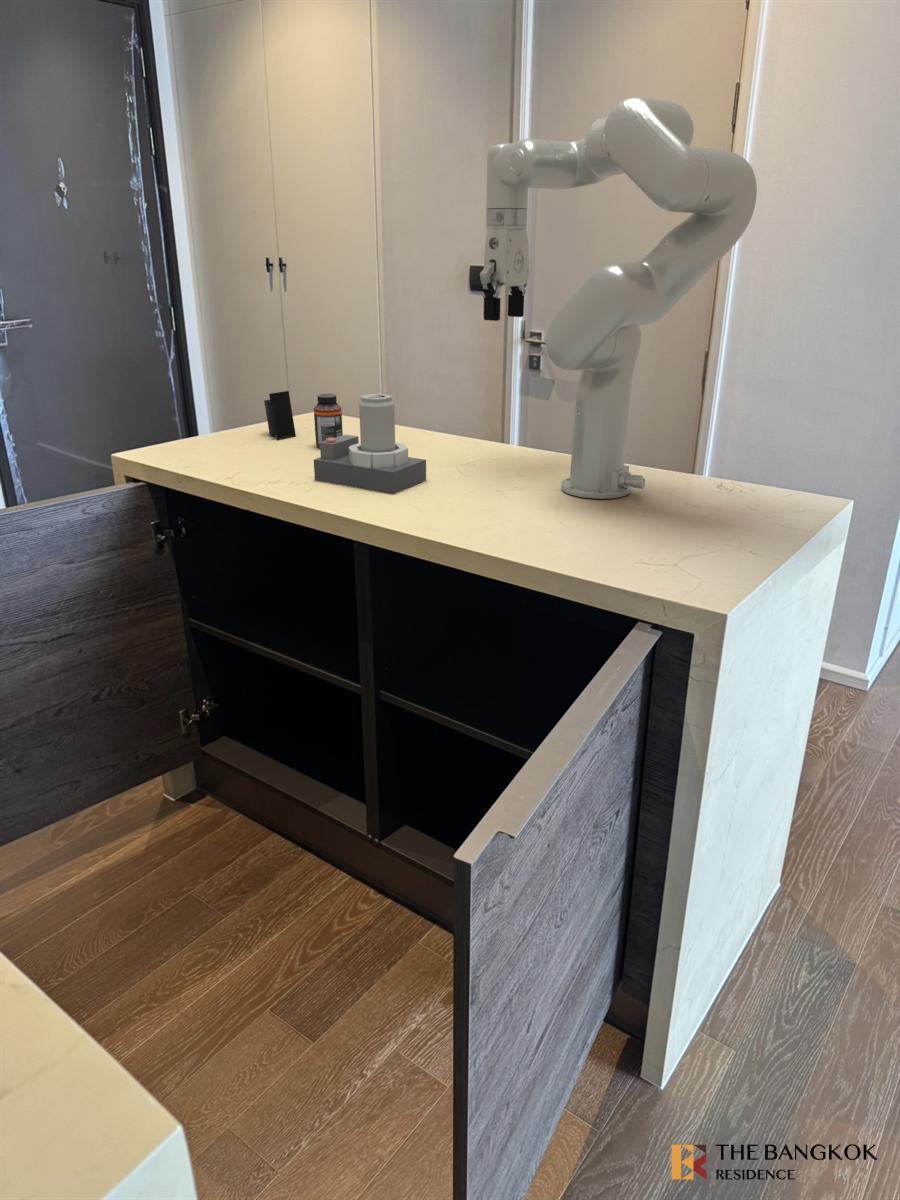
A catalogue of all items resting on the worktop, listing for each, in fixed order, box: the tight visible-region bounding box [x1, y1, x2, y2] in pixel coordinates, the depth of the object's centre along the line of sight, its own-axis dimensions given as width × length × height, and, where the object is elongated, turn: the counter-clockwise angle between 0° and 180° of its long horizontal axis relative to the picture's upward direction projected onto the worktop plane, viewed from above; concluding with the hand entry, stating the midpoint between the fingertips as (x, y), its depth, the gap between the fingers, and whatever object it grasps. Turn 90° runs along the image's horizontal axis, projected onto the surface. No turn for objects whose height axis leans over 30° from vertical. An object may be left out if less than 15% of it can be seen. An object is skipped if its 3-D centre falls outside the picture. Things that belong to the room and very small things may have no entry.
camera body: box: [313, 434, 427, 495], centre depth 162 cm, size 18×11×8 cm, turn 59°
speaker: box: [263, 390, 297, 441], centre depth 197 cm, size 8×6×10 cm
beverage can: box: [358, 393, 396, 453], centre depth 158 cm, size 6×6×12 cm
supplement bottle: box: [313, 393, 344, 449], centre depth 187 cm, size 6×6×11 cm
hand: (503, 318), depth 164 cm, fingers open, 9 cm apart
